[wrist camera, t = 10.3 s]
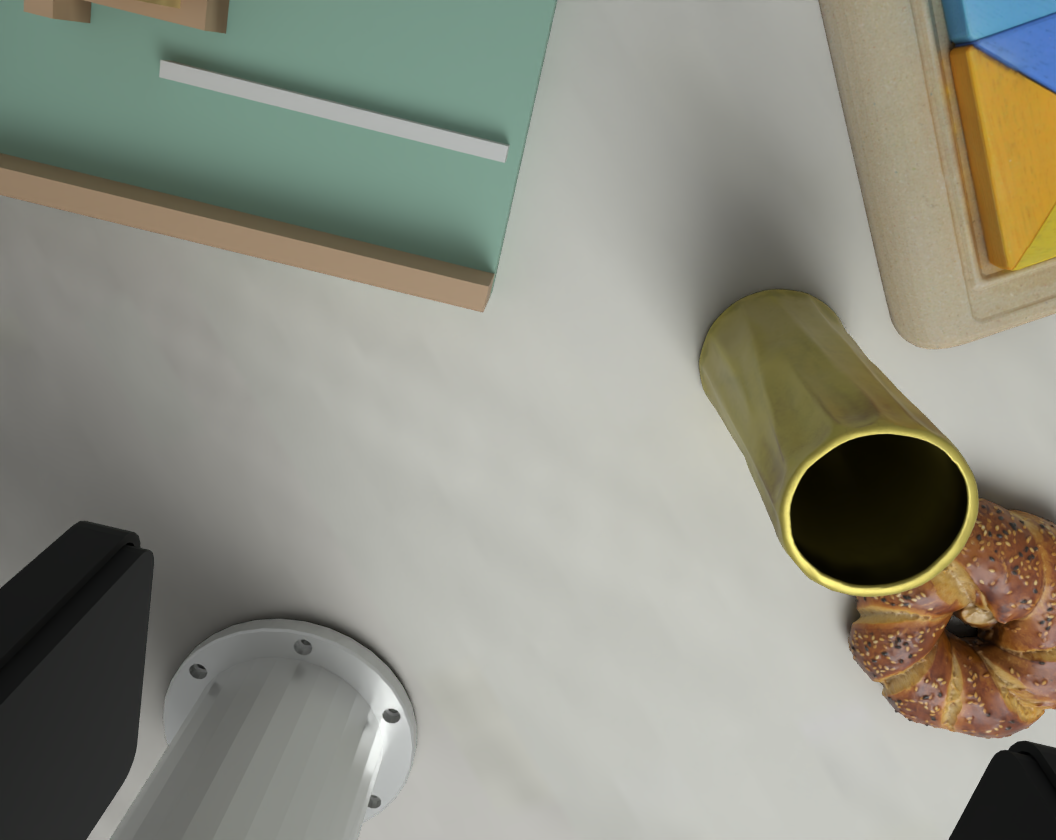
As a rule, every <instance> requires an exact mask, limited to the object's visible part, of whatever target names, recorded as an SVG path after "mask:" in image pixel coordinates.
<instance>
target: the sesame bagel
mask: <svg viewBox="0 0 1056 840" xmlns="http://www.w3.org/2000/svg"><path fill="white" fill-rule="evenodd" d="M855 597H856V602H857V610H858V611H859V613H860V616H861V617H860V618H859V619H858V620H857V621H855V622H854V623H852V627H851V631H850V636H849V637H848V643H849V648H850V651H851V652H852V654H853V659H854V660H855V661H857V664H859V666H860V667H861V668H862V669H863V671H864V672H866V674H867V675H868V676H869V677H870V678H871V679H872V681H876V682H880V683H882V684H883V691H882V695H883V696H884V697H885V698H886V699H887V700H888V702H889V703H890V704H891V705H892V707H893V708H894V709H895V712H899V713H900V714H902V715H903V716H904V717H905V718H908V720H909V721H914V722H916V723H922V724H925V725H926V726H928V725H930V726H933V727H934V728H937V727H938V728H943V729H948V730H950V731H953V732H960V733H964V734H968V735H972V736H977V737H985V738H987V739H989V738H1003V737H1008V736H1011V735H1012V734H1014V733H1016V732H1019V731H1021V730H1023V729H1027V728H1029V726H1030V725H1031V724H1033V723H1034V722H1035V721H1037V720H1038V719H1039V718H1040V717H1041V716H1042V715H1043V714H1044V712H1045V711H1044V710H1045V709H1051V708H1052V709H1056V524H1054V523H1052V522H1051V521H1049V520H1045V519H1044V518H1040V517H1037V516H1036V515H1032V514H1029V513H1027V512H1023V511H1019V510H1006V509H1005V508H1003V507H1001V506H999V505H997V504H995V503H993V502H990V501H988V500H985V499H983V498H982V499H981V498H979V507H978V515H977V519H976V522H975V525H974V528H973V530H972V532H971V534H970V537H969V538H968V540H967V542H966V544H965V546H964V547H963V549H962V550H961V552H960V553H959V554H958V556H957V557H956V558H955V559H954V560H953V561H952V562H951V563H950V564H949V565H948V566H947V567H946V568H945V569H944V570H943V571H941V572H940V573H939V574H938V575H937V576H935V577H934V578H933V579H931V580H930V581H928V582H926V583H925V584H923V585H921V586H918V587H916V588H913V589H910V590H907V591H904V592H901V593H898V594H892V595H886V596H877V597H861V596H855ZM951 616H956V617H957V618H959V619H960V620H962V621H963V622H964V623H965V624H969V625H970V626H972V627H976V628H978V631H977V637H963V638H958V637H957V636H955V635H954V634H952V633H950V632H949V631H948V630H946V629H945V627H946V625H947V623H948V622H949V620H950V618H951Z"/></svg>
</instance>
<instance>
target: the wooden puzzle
mask: <svg viewBox="0 0 1056 840" xmlns="http://www.w3.org/2000/svg"><path fill="white" fill-rule="evenodd" d="M819 5H820V9H821V14H822V18H823V23H824V27H825V32H826V36H827V41H828V45H829V50H830V54H831V59H832V63H833V68H834V72H835V76H836V81H837V85H838V90H839V94H840V99H841V103H842V108H843V112H844V117H845V121H846V126H847V130H848V134H849V139H850V143H851V148H852V152H853V157H854V161H855V165H856V170H857V174H858V179H859V183H860V187H861V192H862V196H863V201H864V205H865V209H866V214H867V218H868V223H869V227H870V232H871V236H872V240H873V245H874V249H875V253H876V258H877V262H878V267H879V271H880V275H881V280H882V284H883V288H884V292H885V296H886V301H887V305H888V309H889V313H890V317H891V320H892V323H893V325H894V327H895V329H896V330H897V332H898V333H899V334H900V335H901V336H902V337H903V338H904V339H905V340H906V341H908V342H909V343H911V344H913V345H915V346H918V347H921V348H926V349H942V348H950V347H955V346H959V345H963V344H966V343H969V342H972V341H975V340H978V339H981V338H984V337H987V336H990V335H993V334H996V333H999V332H1002V331H1004V330H1007V329H1010V328H1013V327H1016V326H1019V325H1022V324H1025V323H1028V322H1031V321H1034V320H1037V319H1040V318H1043V317H1046V316H1049V315H1052V314H1055V313H1056V0H819Z"/></svg>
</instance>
